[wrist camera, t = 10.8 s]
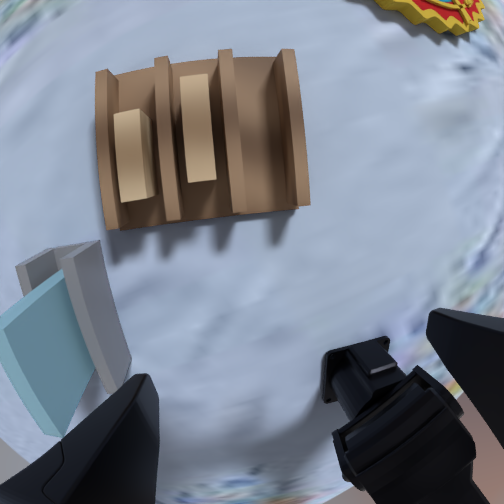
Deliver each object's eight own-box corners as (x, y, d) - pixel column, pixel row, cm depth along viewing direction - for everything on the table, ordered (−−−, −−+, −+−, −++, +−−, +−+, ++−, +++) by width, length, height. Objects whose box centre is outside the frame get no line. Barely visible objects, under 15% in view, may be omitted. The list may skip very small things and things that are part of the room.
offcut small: (158, 194, 18) (146, 198, 14) (136, 197, 17) (121, 202, 14) (151, 120, 16) (139, 108, 13) (130, 124, 16) (113, 114, 13)
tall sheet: (106, 346, 20) (63, 437, 10) (90, 347, 20) (44, 434, 10) (81, 263, 18) (3, 329, 8) (65, 265, 18) (-15, 328, 8)
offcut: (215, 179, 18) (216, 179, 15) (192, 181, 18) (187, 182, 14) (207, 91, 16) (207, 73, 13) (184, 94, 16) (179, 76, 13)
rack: (296, 208, 20) (310, 213, 17) (122, 229, 18) (107, 238, 15) (281, 59, 17) (293, 42, 14) (110, 79, 15) (95, 65, 12)
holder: (131, 358, 21) (119, 393, 17) (81, 359, 20) (64, 391, 16) (99, 240, 18) (73, 257, 14) (46, 249, 18) (15, 266, 13)
